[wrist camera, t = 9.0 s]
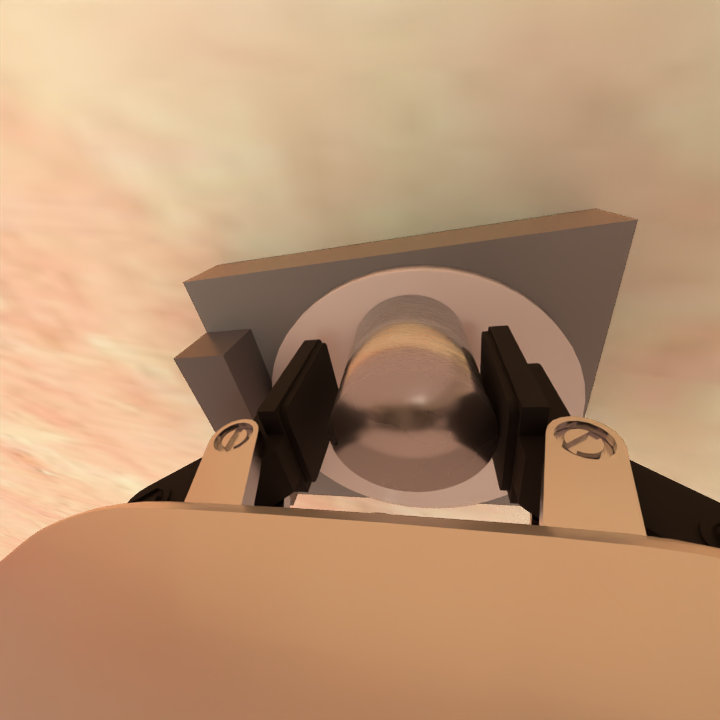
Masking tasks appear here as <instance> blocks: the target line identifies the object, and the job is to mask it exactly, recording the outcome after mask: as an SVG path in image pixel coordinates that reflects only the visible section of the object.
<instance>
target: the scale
mask: <svg viewBox="0 0 720 720" xmlns="http://www.w3.org/2000/svg"><path fill="white" fill-rule="evenodd" d="M637 221H638V219H634V218H630V217H626V216H622V215H618V214H615V213H611V212H607V211H603V210H599V209H590V210H583V211H576V212H570V213H563V214H556V215H550V216H543V217H536V218H530V219H523V220H516V221H510V222H503V223H496V224H489V225H483V226H476V227H469V228H463V229H456V230H449V231H443V232H436V233H429V234H423V235H416V236H409V237H402V238H396V239H389V240H382V241H376V242H369V243H362V244H356V245H349V246H342V247H336V248H329V249H322V250H316V251H309V252H302V253H295V254H289V255H282V256H275V257H269V258H262V259H255V260H249V261H242V262H235V263H229V264H222V265H217V266H215V267H213V268H211V269H209V270H207V271H205V272H203V273H201V274H199V275H197V276H195V277H193V278H191V279H189V280H187V281H185V282H183V283H184V285H185V287H186V289H187V291H188V293H189V296H190V298H191V300H192V302H193V304H194V306H195V308H196V310H197V312H198V314H199V316H200V319H201V321H202V323H203V325H204V327H205V329H206V331H207V333H206V334H205V335H203V336H202V337H201V338H199V339H198V340H197V341H196V342H194V343H193V344H192V345H190V346H189V347H188V348H187V349H185V350H184V351H183V352H181V353H180V354H179V355H178V356H176V357H175V358H174V360H175V362H176V364H177V366H178V367H179V369H180V371H181V373H182V374H183V376H184V378H185V380H186V381H187V383H188V385H189V387H190V388H191V390H192V392H193V394H194V395H195V397H196V399H197V401H198V402H199V404H200V406H201V408H202V409H203V411H204V413H205V415H206V417H207V418H208V420H209V422H210V424H211V425H212V427H213V429H214V431H215V432H217V431H218V430H219V429H221V428H222V427H223V426H225V425H227V424H229V423H231V422H234V421H237V420H242V419H249V420H253V419H254V418H255V416H256V415H257V412H256V411H257V410H258V408H259V407H260V405H261V404H262V402H263V401H264V399H265V398H266V396H267V395H268V393H269V392H270V390H271V389H272V387H273V386H274V385H275V383H276V382H277V380H278V379H279V377H280V376H281V374H282V373H283V371H284V370H285V368H286V367H287V365H288V364H289V362H290V361H291V359H292V358H293V356H294V355H295V354H296V352H297V351H298V349H299V348H300V346H301V345H302V343H303V342H304V341H305V340H316V339H320V340H321V341H322V343H326V344H327V347H328V351H329V355H330V359H331V362H332V366H333V370H334V374H335V378H336V382H337V385H338V389H339V387H340V384H341V380H342V377H343V374H344V371H345V367H346V364H347V361H348V358H349V354H350V351H351V348H352V345H353V341H354V338H355V335H356V332H357V329H358V326H359V324H360V322H361V320H362V319H363V317H364V316H365V315H366V314H367V313H368V312H369V310H371V309H372V308H373V307H374V306H376V305H377V304H379V303H380V302H382V301H384V300H387V299H389V298H392V297H395V296H400V295H411V294H412V295H422V296H427V297H430V298H433V299H436V300H438V301H440V302H442V303H443V304H445V305H446V306H448V307H449V308H450V309H451V310H452V311H453V312H454V313H455V314H456V315H457V317H458V318H459V320H460V321H461V323H462V325H463V328H464V330H465V333H466V336H467V339H468V342H469V344H470V347H471V350H472V353H473V356H474V358H475V361H476V364H477V367H478V370H479V372H480V363H481V335H482V331H488V327H490V326H504V325H508V326H509V328H510V330H511V332H512V334H513V336H514V338H515V340H516V342H517V344H518V346H519V348H520V350H521V351H522V353H523V355H524V357H525V359H526V361H527V363H539V364H541V366H542V367H543V369H544V371H545V372H546V374H547V376H548V377H549V379H550V381H551V383H552V384H553V386H554V388H555V389H556V391H557V393H558V395H559V396H560V398H561V400H562V401H563V403H564V405H565V407H566V408H567V410H568V412H569V413H570V415H571V416H574V417H585V413H586V410H587V406H588V402H589V399H590V395H591V391H592V387H593V384H594V380H595V376H596V373H597V369H598V365H599V361H600V358H601V354H602V350H603V347H604V343H605V339H606V335H607V332H608V328H609V324H610V321H611V317H612V313H613V310H614V306H615V302H616V298H617V295H618V291H619V287H620V284H621V280H622V276H623V272H624V269H625V265H626V261H627V258H628V254H629V250H630V247H631V243H632V239H633V235H634V232H635V228H636V224H637ZM297 494H312V495H331V496H349V497H368V498H373V499H376V500H380V501H384V502H388V503H392V504H397V505H403V506H410V507H420V508H450V507H460V506H468V505H473V504H497V505H515V506H520V505H519V504H513V503H510V501H509V497H508V493H507V491H501V490H500V488H499V485H498V481H497V476H496V472H495V468H494V463H493V459H492V458H491V460H490V461H489V463H488V464H487V465H486V466H485V467H484V468H483V469H482V470H481V471H480V472H479V473H478V474H476V475H475V476H473V477H472V478H470V479H468V480H467V481H465V482H463V483H460V484H458V485H455V486H453V487H449V488H446V489H441V490H437V491H429V492H406V491H398V490H393V489H388V488H385V487H381V486H378V485H376V484H373V483H371V482H369V481H367V480H365V479H363V478H361V477H360V476H358V475H356V474H355V473H354V472H352V471H351V470H350V469H349V468H347V467H346V466H345V465H344V464H343V463H342V461H341V460H340V459H339V458H338V456H337V455H336V453H335V451H334V450H333V447H332V445H331V442H329V445H328V448H327V451H326V454H325V457H324V460H323V463H322V466H321V469H320V472H319V475H318V478H317V480H316V481H315V482H312V483H311V486H310V489H309V491H308V492H294V493H292V494H291V495H290V499H291V500H290V505H294V502H295V500H296V497H297Z"/></svg>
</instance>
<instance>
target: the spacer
mask: <svg viewBox="0 0 720 720" xmlns="http://www.w3.org/2000/svg"><path fill="white" fill-rule="evenodd" d="M329 438H330V442H331V445H332V447H333V450H334V451H335V453H336V455H337V456H338V458H339V459H340V460H341V461H342V463H343V464H344V465H345V466H346V467H347V468H349V469H350V470H351V471H352V472H354V473H355V474H356V475H358V476H360V477H361V478H363V479H365V480H367V481H369V482H371V483H373V484H376V485H378V486H381V487H385V488H388V489H393V490H398V491H406V492H429V491H437V490H441V489H446V488H449V487H453V486H455V485H458V484H460V483H463V482H465V481H467V480H468V479H470V478H472V477H473V476H475V475H476V474H478V473H479V472H480V471H481V470H482V469H483V468H484V467H485V466H486V465H487V464H488V463H489V461H490V460H491V458H492V457H493V455H494V453H495V451H496V448H497V445H498V439H499V428H498V424H497V420H496V417H495V414H494V411H493V409H492V406H491V403H490V400H489V397H488V395H487V392H486V389H485V386H484V383H483V381H482V378H481V375H480V372H479V370H478V367H477V364H476V361H475V358H474V356H473V353H472V350H471V347H470V344H469V342H468V339H467V336H466V333H465V330H464V328H463V325H462V323H461V321H460V320H459V318H458V317H457V315H456V314H455V313H454V312H453V311H452V310H451V309H450V308H449V307H448V306H446V305H445V304H443V303H442V302H440V301H438V300H436V299H433V298H430V297H427V296H422V295H412V294H411V295H400V296H395V297H392V298H389V299H387V300H384V301H382V302H380V303H379V304H377V305H376V306H374V307H373V308H372V309H371V310H369V312H368V313H367V314H366V315H365V316H364V317H363V319H362V320H361V322H360V324H359V326H358V329H357V332H356V335H355V338H354V341H353V345H352V348H351V351H350V354H349V358H348V361H347V364H346V367H345V371H344V374H343V377H342V380H341V384H340V387H339V390H338V393H337V397H336V400H335V403H334V406H333V410H332V413H331V416H330V420H329Z"/></svg>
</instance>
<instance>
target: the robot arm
mask: <svg viewBox="0 0 720 720" xmlns="http://www.w3.org/2000/svg"><path fill="white" fill-rule="evenodd" d="M480 375H481V378H482V381H483V383H484V386H485V389H486V392H487V395H488V397H489V400H490V403H491V406H492V409H493V411H494V414H495V417H496V420H497V424H498V428H499V439H498V445H497V448H496V451H495V453H494V455H493V457H492V459H493V463H494V468H495V472H496V476H497V481H498V485H499V488H500V490H501V491H507V493H508V497H509V501H510V503H513V504H519V505H520V506H522V507H523V508H524V509H526V510H527V511H528V512H530V523H529V525H527V524H514V523H500V522H486V521H473V520H459V519H445V518H432V517H418V516H403V515H389V514H374V513H359V512H345V511H330V510H315V509H300V508H290V500H291V499H290V495H291V494H292V493H294V492H308V491H309V489H310V486H311V483H312V482H315V481H316V480H317V478H318V475H319V472H320V469H321V466H322V463H323V460H324V457H325V454H326V451H327V448H328V445H329V442H330V438H329V420H330V416H331V413H332V410H333V406H334V403H335V400H336V397H337V393H338V390H339V389H338V385H337V382H336V378H335V374H334V370H333V366H332V362H331V359H330V355H329V351H328V347H327V344H326V343H322V341H321V340H320V339H316V340H305V341H304V342H303V343H302V345H301V346H300V348H299V349H298V351H297V352H296V354H295V355H294V356H293V358H292V359H291V361H290V362H289V364H288V365H287V367H286V368H285V370H284V371H283V373H282V374H281V376H280V377H279V379H278V380H277V382H276V383H275V385H274V386H273V387H272V389H271V390H270V392H269V393H268V395H267V396H266V398H265V399H264V401H263V402H262V404H261V405H260V407H259V408H258V410H257V411H256V412H257V415H256V416H255V418H254V419H253V420H249V419H242V420H237V421H234V422H231V423H229V424H227V425H225V426H223V427H222V428H221V429H219V430H218V431H217V432H216V433H215V434H214V435H213V436H212V438H211V439H210V441H209V443H208V445H207V448H206V450H205V453H204V455H203V457H202V458H200V459H198V460H196V461H194V462H193V463H191V464H189V465H187V466H185V467H183V468H181V469H180V470H178V471H176V472H174V473H172V474H170V475H168V476H166V477H165V478H163V479H161V480H159V481H157V482H155V483H153V484H152V485H150V486H148V487H146V488H145V489H143V490H141V491H140V492H138V493H137V494H136V495H135V496H134V497H133V498H131V499H130V500H129V502H128V503H123V504H117V505H112V506H106V507H101V508H96V509H93V510H89V511H86V512H83V513H80V514H76V515H73V516H70V517H68V518H65V519H63V520H60V521H58V522H56V523H54V524H51V525H49V526H47V527H45V528H43V529H42V530H40V531H38V532H37V533H35V534H34V535H32V536H31V537H30V538H28V539H27V540H26V541H24V542H23V543H22V544H21V545H19V546H18V547H17V548H16V549H15V550H13V551H12V552H11V553H10V554H9V555H7V556H6V557H5V558H4V559H3V560H2V561H0V720H720V503H719V502H717V501H715V500H713V499H711V498H709V497H707V496H704V495H702V494H700V493H698V492H696V491H694V490H692V489H690V488H688V487H686V486H684V485H681V484H679V483H677V482H675V481H673V480H671V479H669V478H667V477H665V476H663V475H660V474H658V473H656V472H654V471H652V470H650V469H648V468H646V467H644V466H642V465H639V464H637V463H635V462H633V461H631V460H629V456H628V451H627V447H626V445H625V443H624V441H623V439H622V438H621V437H620V436H619V435H618V434H617V433H616V432H615V431H614V430H612V429H611V428H609V427H608V426H606V425H604V424H602V423H600V422H597V421H595V420H592V419H588V418H584V417H574V416H571V415H570V413H569V412H568V410H567V408H566V407H565V405H564V403H563V401H562V400H561V398H560V396H559V395H558V393H557V391H556V389H555V388H554V386H553V384H552V383H551V381H550V379H549V377H548V376H547V374H546V372H545V371H544V369H543V367H542V366H541V364H539V363H527V361H526V359H525V357H524V355H523V353H522V351H521V350H520V348H519V346H518V344H517V342H516V340H515V338H514V336H513V334H512V332H511V330H510V328H509V326H508V325H504V326H490V327H488V331H482V335H481V363H480Z"/></svg>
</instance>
